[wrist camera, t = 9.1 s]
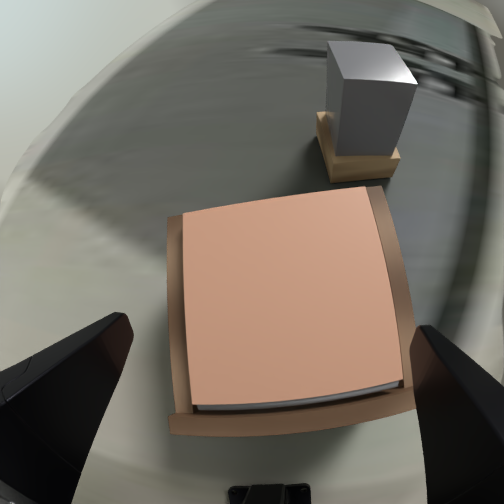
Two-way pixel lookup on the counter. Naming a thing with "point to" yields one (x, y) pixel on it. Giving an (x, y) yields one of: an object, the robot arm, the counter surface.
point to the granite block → (366, 97)
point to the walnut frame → (298, 416)
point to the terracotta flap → (288, 302)
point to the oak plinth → (352, 159)
